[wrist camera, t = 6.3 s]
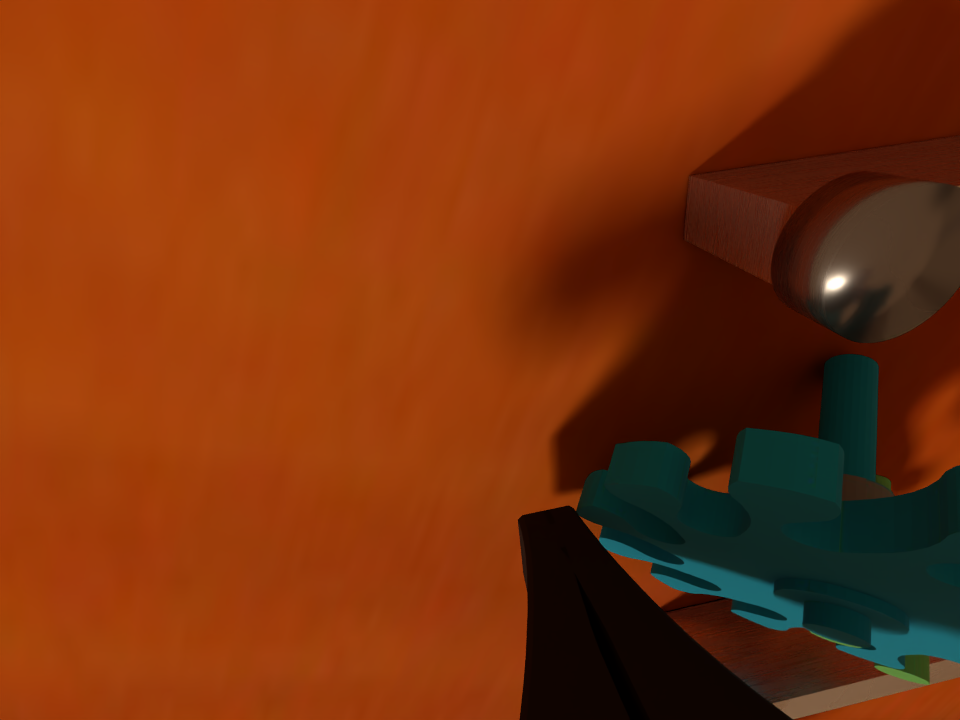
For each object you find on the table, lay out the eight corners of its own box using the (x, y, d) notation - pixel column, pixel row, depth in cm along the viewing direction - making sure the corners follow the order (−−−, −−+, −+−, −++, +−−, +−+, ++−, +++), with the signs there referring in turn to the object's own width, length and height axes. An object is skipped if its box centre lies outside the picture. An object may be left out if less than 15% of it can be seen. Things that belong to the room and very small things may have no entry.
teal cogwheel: (476, 478, 10) (1789, 714, 3) (568, 255, 12) (1362, 88, 5) (677, 630, 16) (1223, 816, 9) (709, 462, 19) (1155, 508, 12)
